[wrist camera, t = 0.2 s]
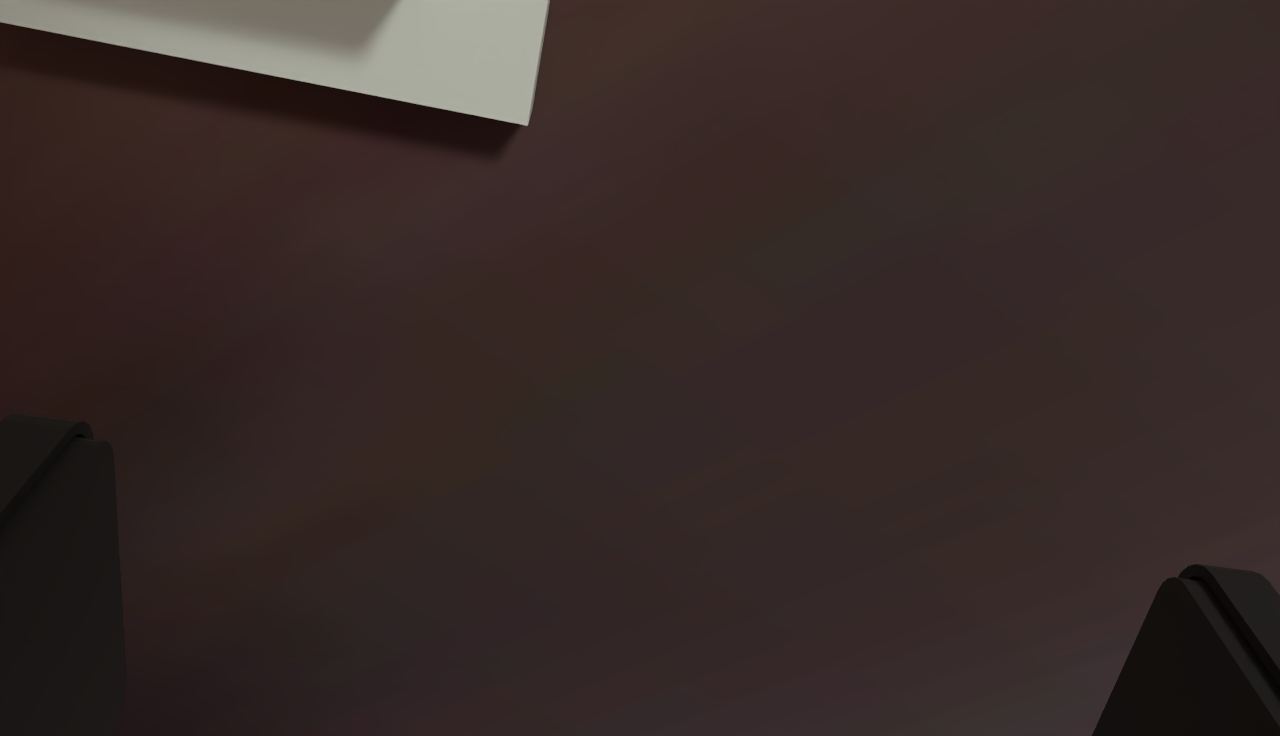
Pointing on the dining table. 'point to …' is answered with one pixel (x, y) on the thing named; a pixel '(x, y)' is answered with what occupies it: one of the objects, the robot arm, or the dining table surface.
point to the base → (333, 43)
